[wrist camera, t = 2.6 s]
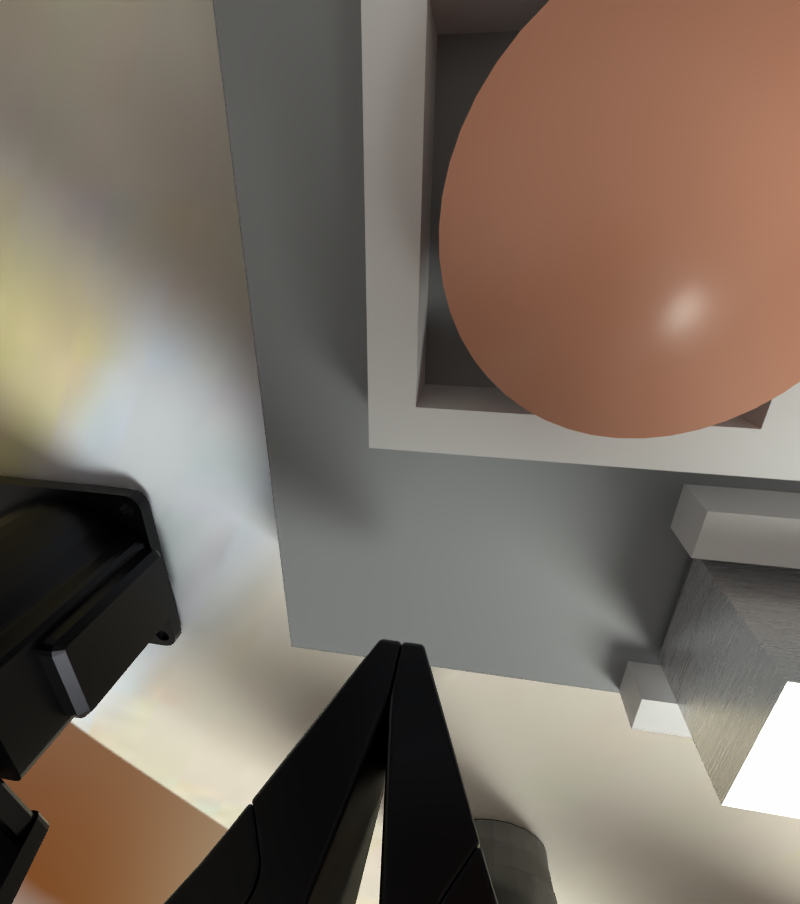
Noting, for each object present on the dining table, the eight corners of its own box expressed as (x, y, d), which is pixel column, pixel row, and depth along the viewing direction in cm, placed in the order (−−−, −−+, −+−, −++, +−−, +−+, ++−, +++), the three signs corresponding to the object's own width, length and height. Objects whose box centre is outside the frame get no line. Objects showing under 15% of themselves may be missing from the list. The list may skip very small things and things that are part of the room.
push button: (441, 381, 7) (429, 425, 6) (460, 34, 6) (451, -68, 4) (734, 397, 7) (825, 452, 5) (861, 14, 5) (1080, -117, 3)
